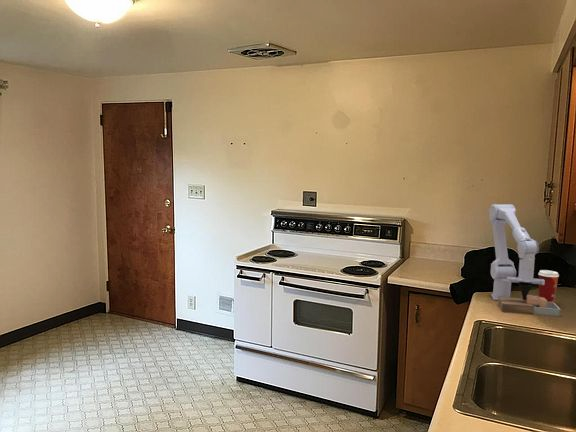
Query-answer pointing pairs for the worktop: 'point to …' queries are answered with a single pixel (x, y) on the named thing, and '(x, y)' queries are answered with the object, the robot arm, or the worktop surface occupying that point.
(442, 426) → the worktop surface
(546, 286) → the coffee cup
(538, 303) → the tile
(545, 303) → the tile
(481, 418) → the worktop surface
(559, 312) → the tray
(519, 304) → the board
